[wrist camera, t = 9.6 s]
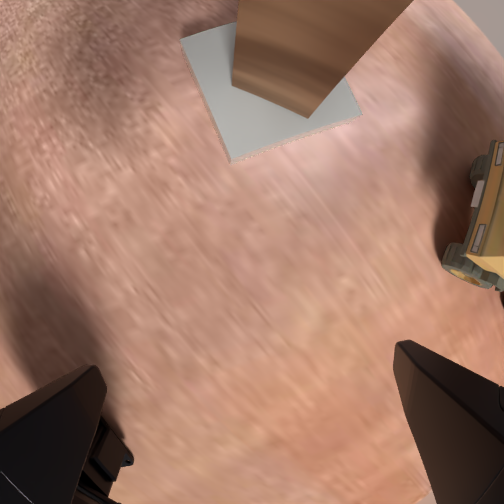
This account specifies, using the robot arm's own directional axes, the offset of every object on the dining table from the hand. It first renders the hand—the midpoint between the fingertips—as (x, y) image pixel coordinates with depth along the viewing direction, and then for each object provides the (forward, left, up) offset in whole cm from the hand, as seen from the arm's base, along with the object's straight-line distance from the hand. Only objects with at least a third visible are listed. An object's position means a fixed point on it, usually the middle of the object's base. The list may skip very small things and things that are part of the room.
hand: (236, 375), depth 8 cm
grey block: (+8, +11, -13) cm, 19 cm away
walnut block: (+8, +11, -10) cm, 17 cm away
